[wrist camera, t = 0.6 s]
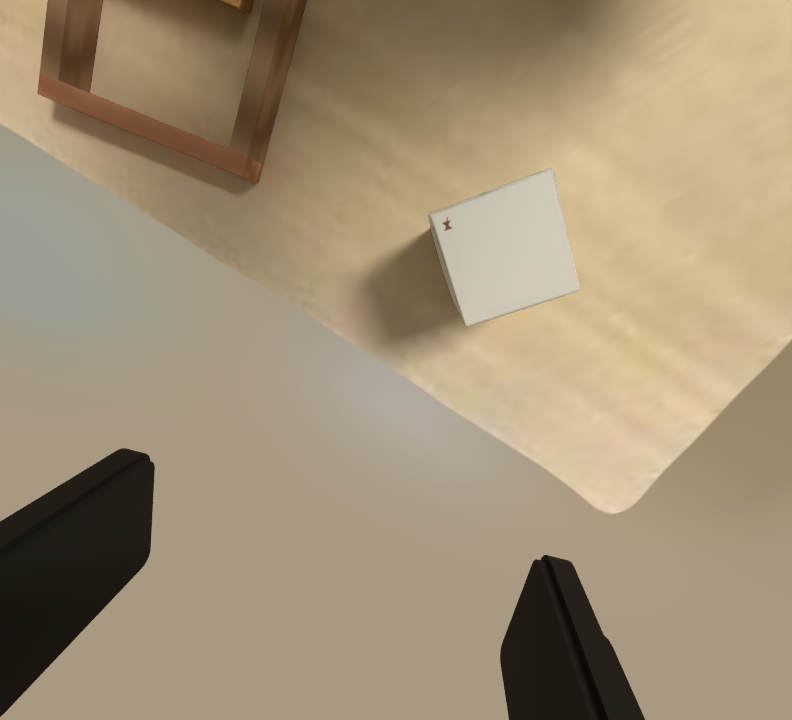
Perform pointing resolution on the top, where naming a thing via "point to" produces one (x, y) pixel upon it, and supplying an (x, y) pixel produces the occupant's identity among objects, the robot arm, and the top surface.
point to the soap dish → (240, 4)
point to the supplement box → (505, 248)
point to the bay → (70, 85)
